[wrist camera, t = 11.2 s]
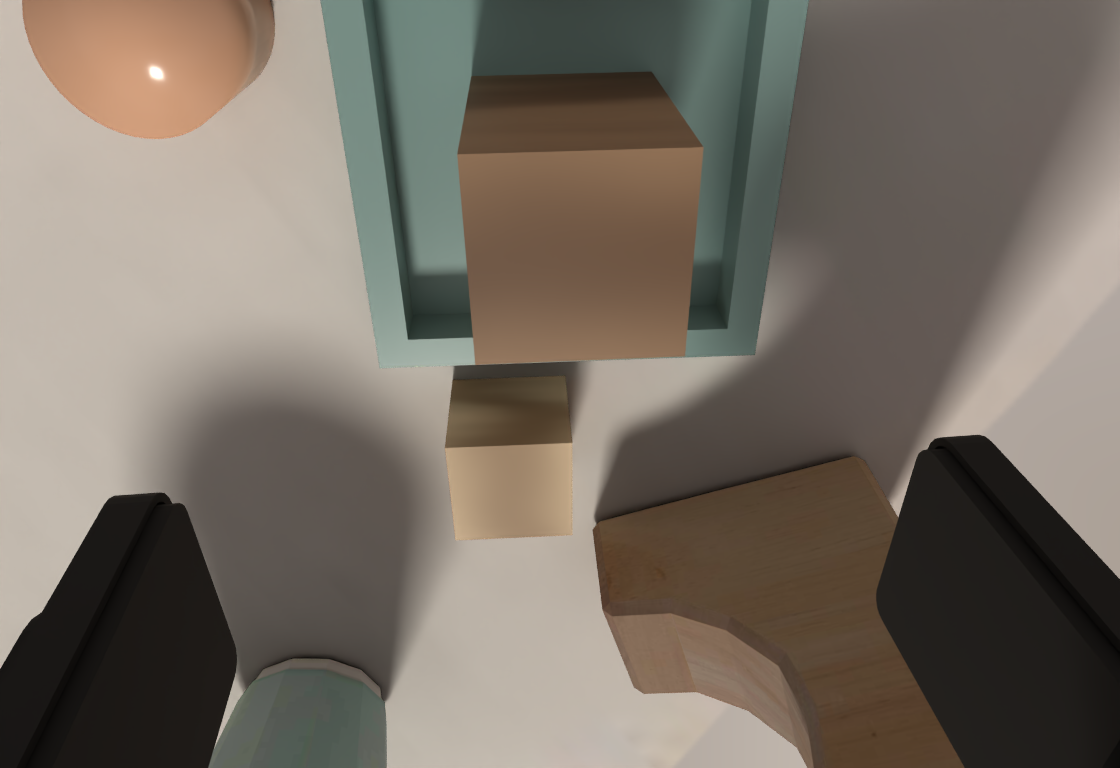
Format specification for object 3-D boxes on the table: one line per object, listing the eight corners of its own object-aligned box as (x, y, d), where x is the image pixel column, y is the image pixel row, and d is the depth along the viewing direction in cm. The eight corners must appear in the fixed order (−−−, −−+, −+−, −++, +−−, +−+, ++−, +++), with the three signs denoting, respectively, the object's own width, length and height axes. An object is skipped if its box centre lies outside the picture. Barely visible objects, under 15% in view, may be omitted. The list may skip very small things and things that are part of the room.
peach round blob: (131, 99, 22) (64, 140, 19) (77, -83, 20) (-12, -72, 16) (289, 96, 22) (250, 136, 19) (255, -85, 20) (203, -74, 16)
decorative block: (620, 604, 35) (721, 1282, 18) (588, 513, 32) (675, 1232, 15) (870, 546, 34) (1223, 1215, 17) (862, 447, 30) (1286, 1147, 14)
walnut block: (471, 75, 22) (457, 154, 16) (651, 71, 22) (703, 147, 16) (483, 244, 24) (475, 364, 18) (643, 239, 25) (685, 356, 19)
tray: (388, 333, 27) (379, 368, 25) (327, -77, 20) (309, -71, 18) (738, 321, 27) (754, 354, 25) (792, -82, 20) (820, -77, 19)
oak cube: (461, 465, 30) (455, 540, 27) (452, 378, 28) (444, 448, 25) (565, 461, 30) (572, 535, 27) (564, 374, 28) (572, 442, 25)
